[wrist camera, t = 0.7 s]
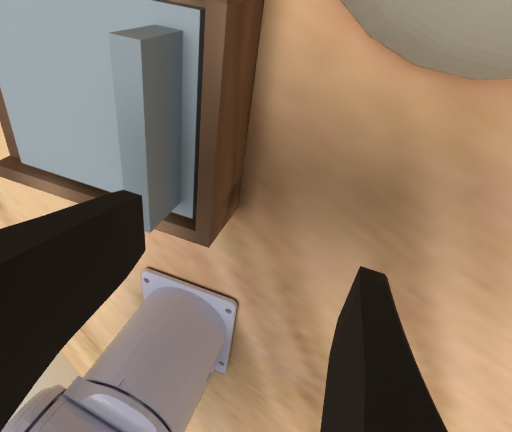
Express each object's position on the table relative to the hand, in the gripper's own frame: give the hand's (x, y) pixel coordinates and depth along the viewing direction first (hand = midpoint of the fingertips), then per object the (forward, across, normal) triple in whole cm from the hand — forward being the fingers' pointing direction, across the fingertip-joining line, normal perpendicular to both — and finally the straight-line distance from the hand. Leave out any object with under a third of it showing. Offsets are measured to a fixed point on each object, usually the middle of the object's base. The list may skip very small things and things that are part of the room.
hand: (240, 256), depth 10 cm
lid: (+7, +10, 0) cm, 13 cm away
